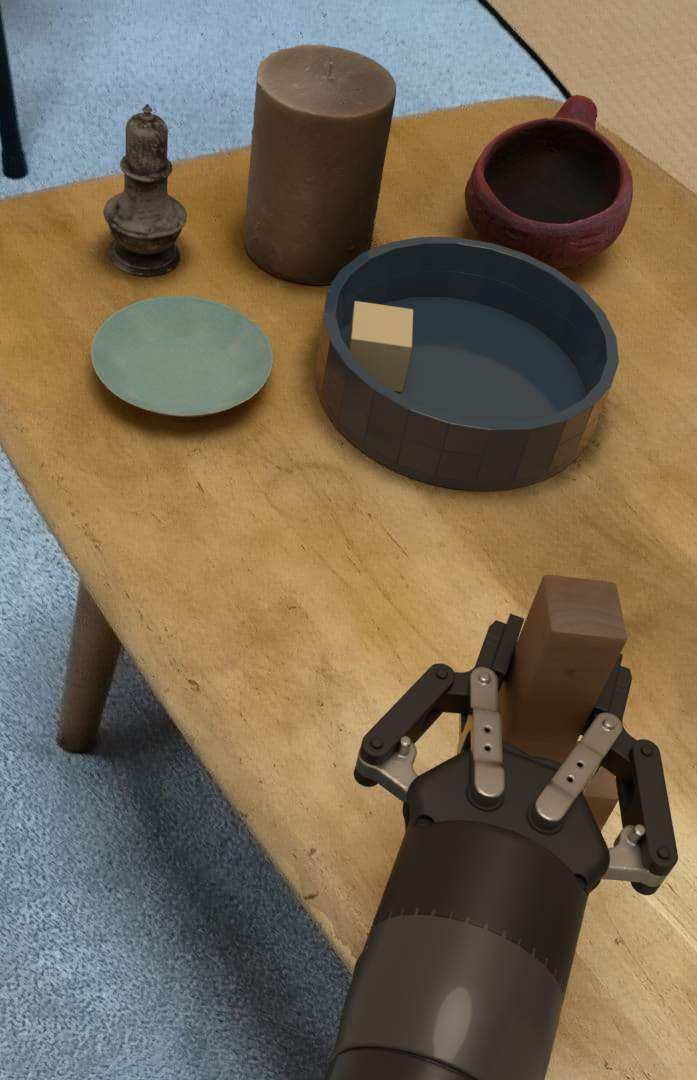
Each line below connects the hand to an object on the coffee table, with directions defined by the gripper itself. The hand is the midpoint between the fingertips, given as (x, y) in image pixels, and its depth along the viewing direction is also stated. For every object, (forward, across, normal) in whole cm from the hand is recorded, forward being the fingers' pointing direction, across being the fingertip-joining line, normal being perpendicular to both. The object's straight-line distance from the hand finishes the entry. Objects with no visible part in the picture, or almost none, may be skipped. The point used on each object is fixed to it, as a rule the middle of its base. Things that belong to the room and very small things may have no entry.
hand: (560, 645), depth 57 cm
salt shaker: (+32, +36, +11) cm, 49 cm away
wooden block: (-3, -2, +9) cm, 10 cm away
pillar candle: (+39, +26, +11) cm, 48 cm away
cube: (+27, +16, +10) cm, 33 cm away
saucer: (+21, +28, +11) cm, 36 cm away
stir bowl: (+29, +11, +11) cm, 33 cm away
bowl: (+50, +11, +11) cm, 52 cm away
